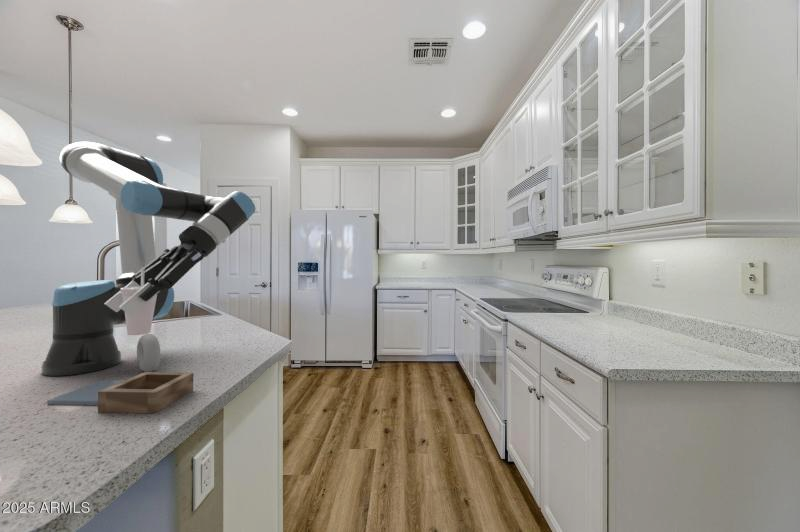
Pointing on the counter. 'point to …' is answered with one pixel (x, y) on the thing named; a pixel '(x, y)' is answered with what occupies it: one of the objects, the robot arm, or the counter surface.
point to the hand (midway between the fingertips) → (117, 309)
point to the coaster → (83, 394)
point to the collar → (145, 392)
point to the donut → (148, 352)
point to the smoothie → (139, 311)
